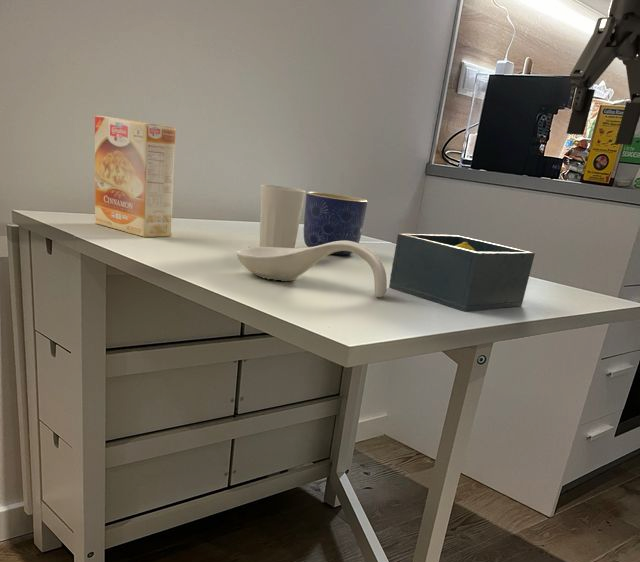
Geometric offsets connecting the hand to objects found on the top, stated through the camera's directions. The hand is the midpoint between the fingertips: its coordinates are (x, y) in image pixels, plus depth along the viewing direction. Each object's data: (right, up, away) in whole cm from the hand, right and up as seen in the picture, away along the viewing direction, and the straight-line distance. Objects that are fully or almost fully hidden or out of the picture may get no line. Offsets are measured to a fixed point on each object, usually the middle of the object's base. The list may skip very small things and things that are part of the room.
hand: (599, 139), depth 110 cm
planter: (-45, -12, +27) cm, 53 cm away
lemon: (-24, -26, -2) cm, 36 cm away
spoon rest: (-48, -26, -8) cm, 55 cm away
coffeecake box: (-83, -10, +19) cm, 86 cm away
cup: (-55, -16, +12) cm, 58 cm away
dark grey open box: (-24, -26, -2) cm, 36 cm away
